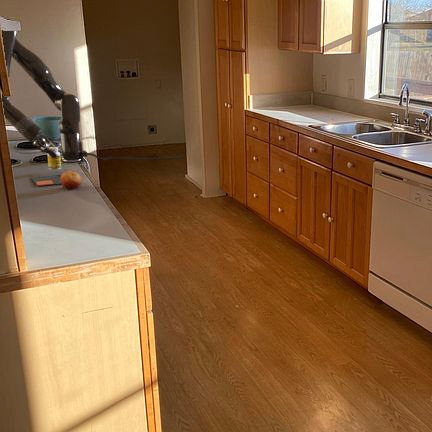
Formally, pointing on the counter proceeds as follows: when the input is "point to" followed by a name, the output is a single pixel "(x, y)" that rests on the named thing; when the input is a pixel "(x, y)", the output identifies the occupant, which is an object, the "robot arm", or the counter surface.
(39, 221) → the counter surface
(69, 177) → the fruit
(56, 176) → the corner mat
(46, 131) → the plant pot
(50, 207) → the counter surface
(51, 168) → the supplement bottle
